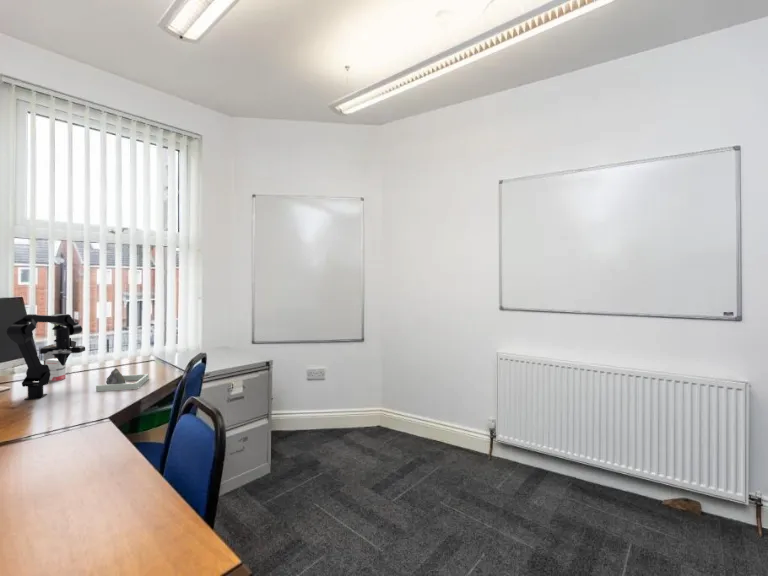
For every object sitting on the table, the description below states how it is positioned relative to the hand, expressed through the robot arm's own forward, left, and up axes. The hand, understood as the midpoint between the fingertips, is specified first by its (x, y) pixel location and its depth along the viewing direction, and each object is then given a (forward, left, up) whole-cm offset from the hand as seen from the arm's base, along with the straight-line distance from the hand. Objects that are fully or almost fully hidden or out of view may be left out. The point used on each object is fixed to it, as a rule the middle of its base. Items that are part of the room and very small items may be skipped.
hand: (63, 365), depth 204 cm
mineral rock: (-3, -26, -12) cm, 29 cm away
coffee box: (+40, +24, -12) cm, 48 cm away
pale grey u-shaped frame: (-3, -30, -12) cm, 32 cm away
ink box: (+17, +12, -12) cm, 24 cm away
